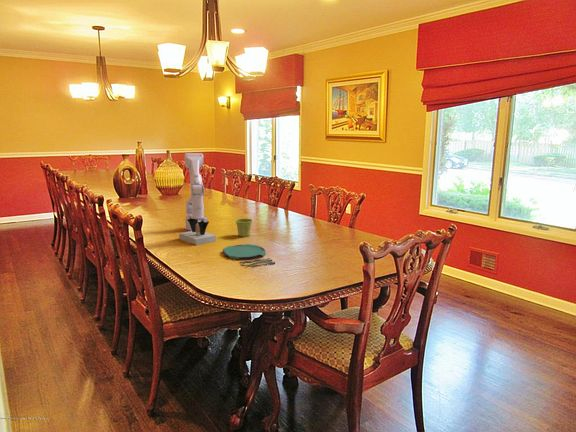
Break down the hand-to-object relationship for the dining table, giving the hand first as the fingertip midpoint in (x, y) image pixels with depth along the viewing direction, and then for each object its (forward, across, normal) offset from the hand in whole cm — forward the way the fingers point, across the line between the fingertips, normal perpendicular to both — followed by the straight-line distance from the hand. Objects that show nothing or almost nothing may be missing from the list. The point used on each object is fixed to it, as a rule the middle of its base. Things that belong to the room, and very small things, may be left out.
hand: (198, 233), depth 222 cm
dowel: (+3, 0, 0) cm, 3 cm away
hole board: (+4, -1, 0) cm, 4 cm away
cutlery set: (+4, +39, +1) cm, 39 cm away
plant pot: (+4, +8, +24) cm, 26 cm away
